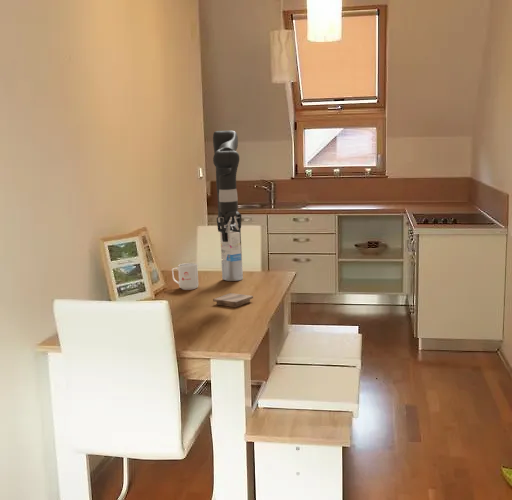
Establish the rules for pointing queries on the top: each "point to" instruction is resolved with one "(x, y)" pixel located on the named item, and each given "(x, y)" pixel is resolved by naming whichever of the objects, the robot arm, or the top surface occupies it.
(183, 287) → the mug
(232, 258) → the ink box
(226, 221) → the robot arm
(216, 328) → the top surface
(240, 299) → the stand
